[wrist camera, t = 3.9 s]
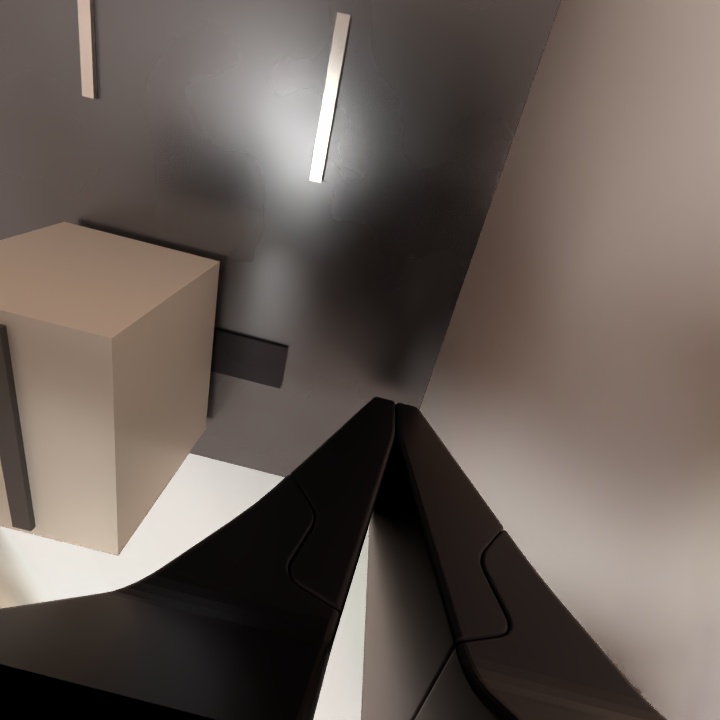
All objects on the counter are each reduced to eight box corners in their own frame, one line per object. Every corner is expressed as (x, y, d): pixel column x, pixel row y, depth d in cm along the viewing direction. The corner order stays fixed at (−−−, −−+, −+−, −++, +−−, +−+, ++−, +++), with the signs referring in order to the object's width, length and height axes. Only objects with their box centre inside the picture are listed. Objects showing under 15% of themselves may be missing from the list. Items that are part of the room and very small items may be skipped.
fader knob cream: (220, 261, 9) (107, 341, 6) (205, 429, 11) (115, 560, 7) (64, 221, 9) (-137, 279, 6) (77, 396, 11) (-69, 515, 7)
